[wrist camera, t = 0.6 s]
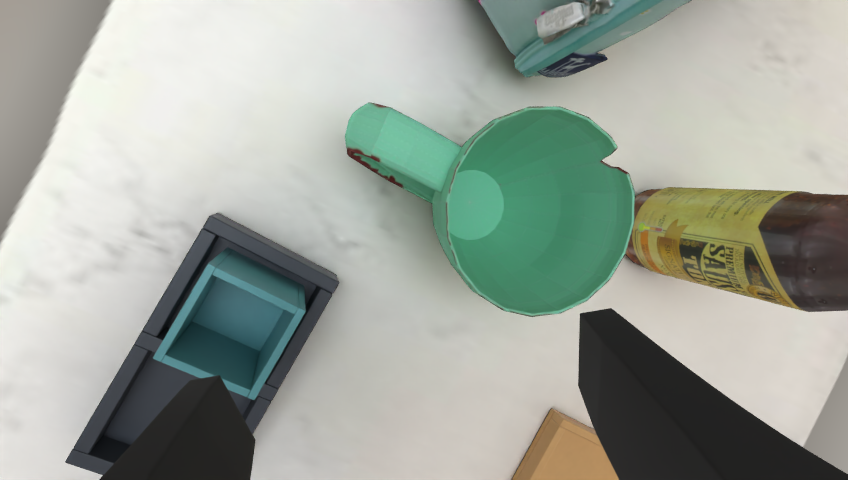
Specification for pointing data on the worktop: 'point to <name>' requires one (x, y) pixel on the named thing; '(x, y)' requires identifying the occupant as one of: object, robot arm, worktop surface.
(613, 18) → the lunch box
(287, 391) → the worktop surface
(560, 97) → the worktop surface
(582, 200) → the mug
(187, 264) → the divided tray
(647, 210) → the sauce bottle
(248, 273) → the tub
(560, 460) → the tray
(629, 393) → the robot arm
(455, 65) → the worktop surface
